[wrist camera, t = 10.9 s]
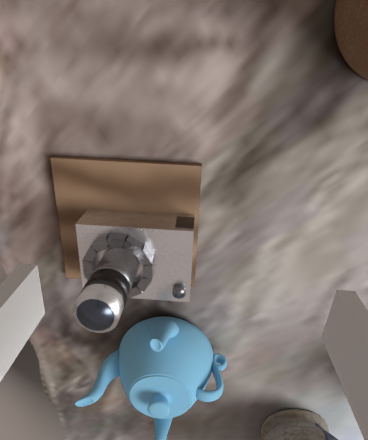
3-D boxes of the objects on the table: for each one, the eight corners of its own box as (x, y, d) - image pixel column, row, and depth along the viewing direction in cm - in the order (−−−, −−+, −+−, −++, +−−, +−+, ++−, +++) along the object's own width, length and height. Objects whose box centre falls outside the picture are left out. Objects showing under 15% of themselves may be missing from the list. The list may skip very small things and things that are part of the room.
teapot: (95, 344, 59) (69, 409, 48) (165, 284, 52) (153, 342, 41) (167, 393, 63) (158, 463, 52) (239, 343, 56) (247, 410, 45)
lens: (111, 240, 42) (83, 287, 33) (145, 260, 43) (127, 311, 34) (94, 268, 44) (63, 319, 35) (127, 286, 45) (105, 341, 36)
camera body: (88, 208, 46) (70, 228, 40) (195, 214, 46) (193, 236, 40) (94, 275, 51) (79, 302, 45) (191, 281, 50) (189, 309, 44)
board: (54, 155, 45) (50, 157, 43) (201, 163, 44) (201, 166, 43) (69, 273, 52) (66, 277, 51) (194, 282, 52) (194, 286, 51)
